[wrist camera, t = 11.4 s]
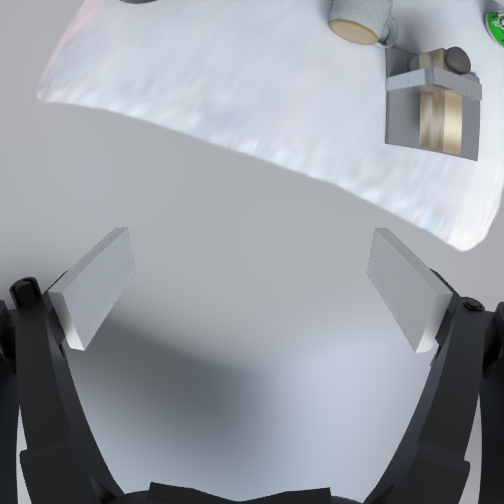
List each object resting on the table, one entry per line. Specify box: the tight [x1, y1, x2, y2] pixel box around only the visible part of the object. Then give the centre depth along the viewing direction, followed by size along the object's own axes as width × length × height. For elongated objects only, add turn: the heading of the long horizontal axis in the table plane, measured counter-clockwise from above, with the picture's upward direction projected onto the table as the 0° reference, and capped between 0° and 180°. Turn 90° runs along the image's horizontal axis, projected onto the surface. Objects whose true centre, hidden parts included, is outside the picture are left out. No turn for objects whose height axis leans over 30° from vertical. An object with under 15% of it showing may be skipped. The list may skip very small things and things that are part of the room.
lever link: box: [419, 47, 471, 155], centre depth 27 cm, size 14×4×8 cm, turn 1°
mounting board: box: [385, 48, 480, 161], centre depth 32 cm, size 15×18×4 cm
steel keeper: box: [386, 66, 482, 100], centre depth 27 cm, size 2×8×13 cm, turn 90°
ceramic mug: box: [328, 0, 398, 48], centre depth 26 cm, size 11×8×8 cm
